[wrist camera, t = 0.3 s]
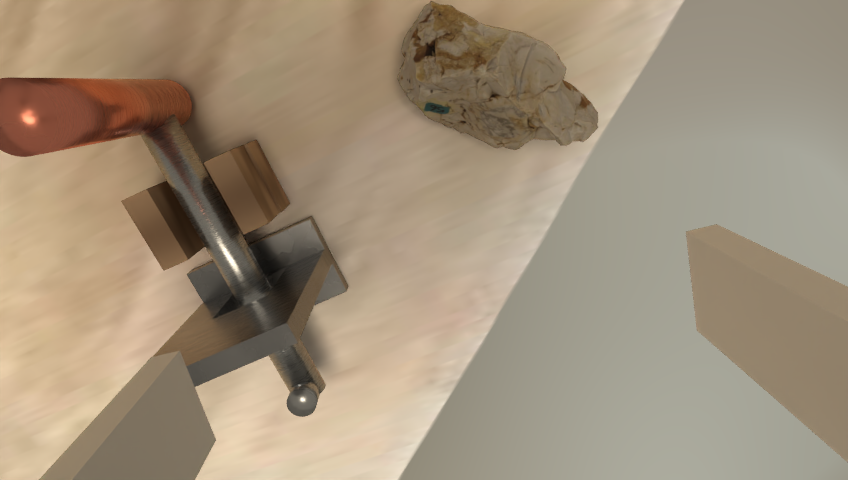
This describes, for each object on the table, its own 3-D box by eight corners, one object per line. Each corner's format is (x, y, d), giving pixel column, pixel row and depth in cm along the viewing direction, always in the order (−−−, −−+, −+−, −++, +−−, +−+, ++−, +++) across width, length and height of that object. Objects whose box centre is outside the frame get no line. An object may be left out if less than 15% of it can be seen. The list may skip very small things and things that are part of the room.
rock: (362, 84, 37) (415, 93, 29) (410, -5, 37) (478, -25, 28) (497, 167, 43) (576, 196, 34) (540, 90, 42) (631, 100, 34)
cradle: (157, 186, 40) (118, 202, 35) (256, 139, 39) (232, 149, 34) (193, 247, 41) (161, 271, 36) (290, 203, 41) (271, 221, 35)
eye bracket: (191, 269, 42) (88, 359, 28) (311, 216, 41) (263, 281, 28) (231, 336, 43) (151, 451, 30) (348, 286, 43) (319, 381, 29)
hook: (133, 91, 37) (-41, 97, 23) (175, 71, 37) (26, 64, 23) (301, 384, 44) (247, 534, 29) (338, 369, 43) (302, 512, 29)
